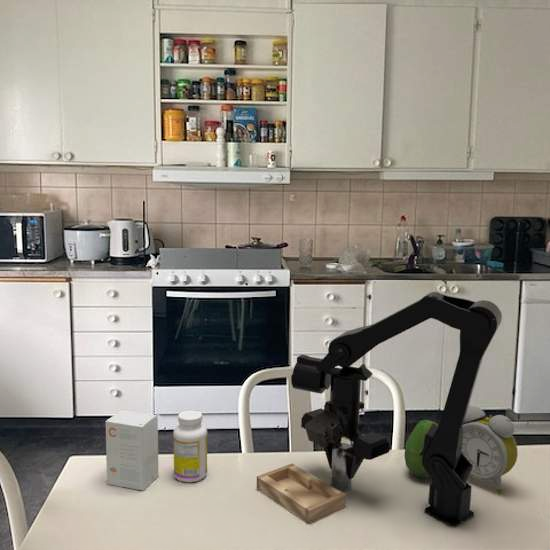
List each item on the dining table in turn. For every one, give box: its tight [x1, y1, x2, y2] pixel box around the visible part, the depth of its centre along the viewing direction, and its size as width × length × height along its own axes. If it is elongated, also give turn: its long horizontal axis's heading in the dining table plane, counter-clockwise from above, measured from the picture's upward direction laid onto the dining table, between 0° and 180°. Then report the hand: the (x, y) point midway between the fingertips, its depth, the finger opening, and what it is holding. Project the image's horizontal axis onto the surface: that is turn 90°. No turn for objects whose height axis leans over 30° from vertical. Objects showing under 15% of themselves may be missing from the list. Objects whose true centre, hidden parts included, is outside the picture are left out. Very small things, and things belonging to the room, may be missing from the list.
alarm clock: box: [462, 404, 519, 494], centre depth 121 cm, size 12×7×15 cm, turn 42°
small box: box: [104, 409, 160, 491], centre depth 118 cm, size 8×6×13 cm
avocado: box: [403, 419, 439, 479], centre depth 123 cm, size 8×8×12 cm
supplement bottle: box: [172, 410, 208, 483], centre depth 120 cm, size 7×7×13 cm
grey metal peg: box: [330, 442, 353, 492], centre depth 118 cm, size 4×4×8 cm
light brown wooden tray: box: [256, 463, 347, 525], centre depth 114 cm, size 15×9×2 cm, turn 39°
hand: (341, 473), depth 118 cm, fingers open, 5 cm apart
